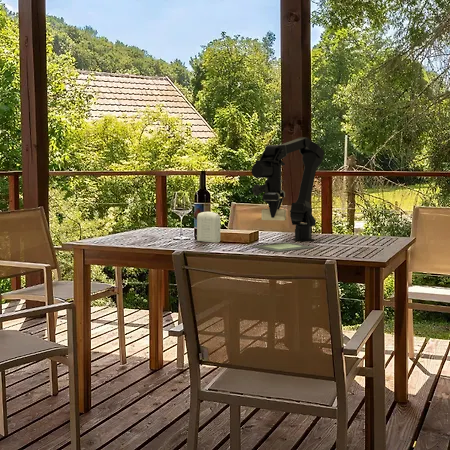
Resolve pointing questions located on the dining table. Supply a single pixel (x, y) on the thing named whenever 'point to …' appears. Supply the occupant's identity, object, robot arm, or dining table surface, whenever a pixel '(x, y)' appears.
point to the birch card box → (278, 216)
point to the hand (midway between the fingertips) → (273, 217)
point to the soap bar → (208, 227)
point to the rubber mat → (282, 247)
